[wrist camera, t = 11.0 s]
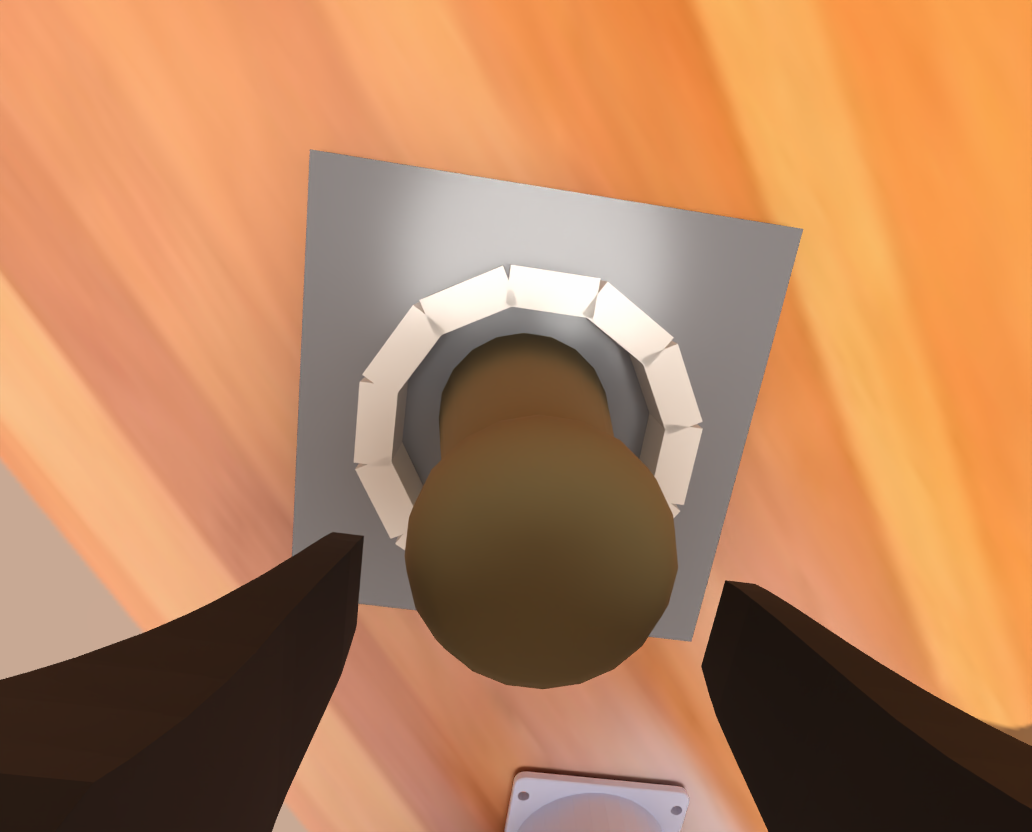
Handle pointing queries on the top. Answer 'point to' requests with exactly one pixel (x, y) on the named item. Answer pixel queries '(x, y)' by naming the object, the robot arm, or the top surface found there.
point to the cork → (537, 522)
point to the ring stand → (513, 310)
